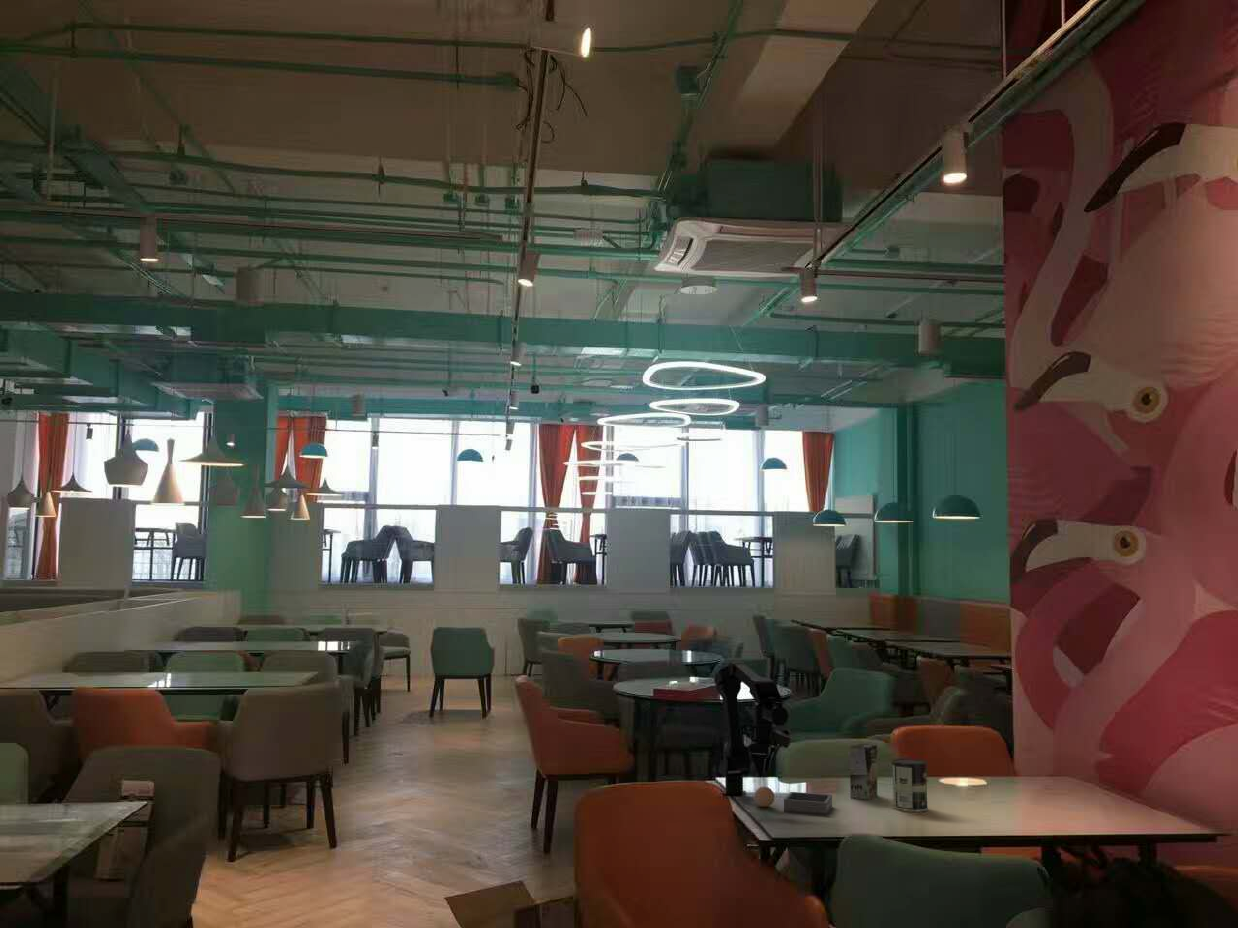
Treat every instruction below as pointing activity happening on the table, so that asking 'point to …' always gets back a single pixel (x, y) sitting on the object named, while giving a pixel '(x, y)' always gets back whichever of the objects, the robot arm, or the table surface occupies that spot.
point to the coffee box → (863, 771)
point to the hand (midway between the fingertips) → (764, 773)
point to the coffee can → (909, 785)
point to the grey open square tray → (808, 803)
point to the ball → (764, 796)
